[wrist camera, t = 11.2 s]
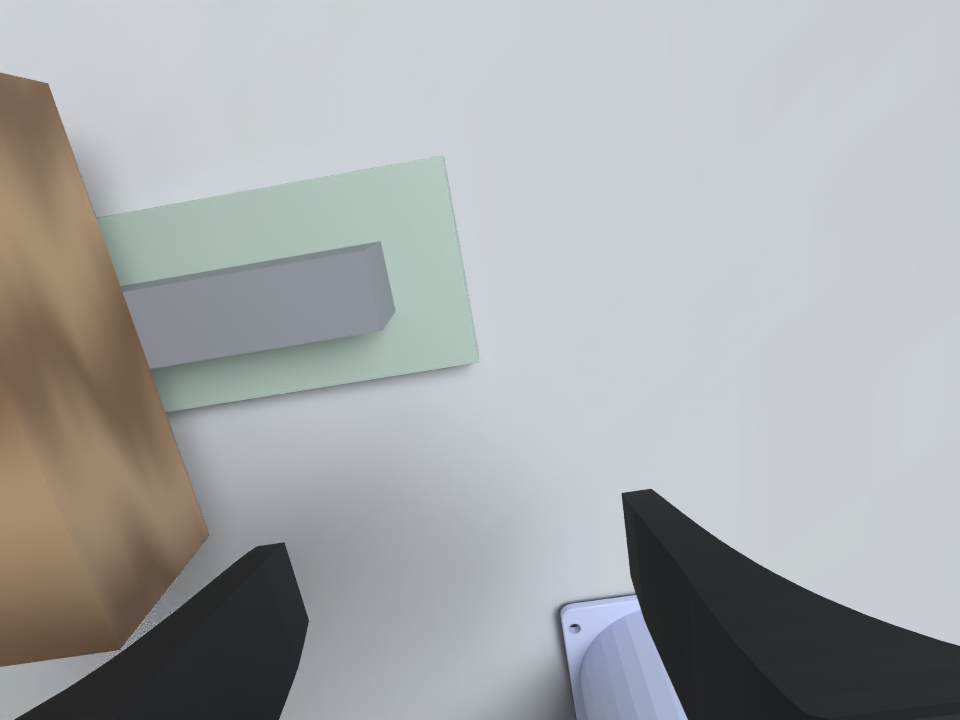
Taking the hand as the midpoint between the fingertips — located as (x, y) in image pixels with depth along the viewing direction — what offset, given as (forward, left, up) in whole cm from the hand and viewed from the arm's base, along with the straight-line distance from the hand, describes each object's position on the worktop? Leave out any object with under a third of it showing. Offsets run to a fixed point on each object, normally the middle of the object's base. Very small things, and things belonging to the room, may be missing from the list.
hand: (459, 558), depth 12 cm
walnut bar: (+5, +11, -6) cm, 13 cm away
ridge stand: (+5, +9, -10) cm, 15 cm away
